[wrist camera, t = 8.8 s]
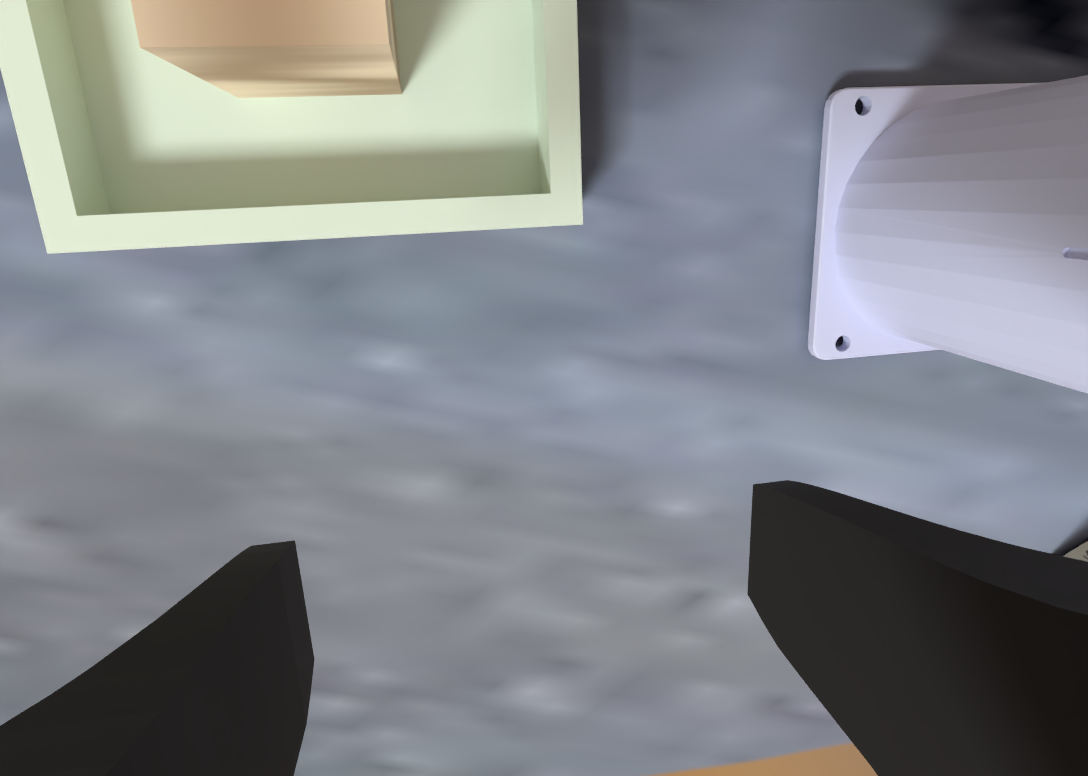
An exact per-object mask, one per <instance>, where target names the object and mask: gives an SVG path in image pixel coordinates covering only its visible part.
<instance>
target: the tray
mask: <svg viewBox="0 0 1088 776" xmlns="http://www.w3.org/2000/svg"><path fill="white" fill-rule="evenodd" d="M393 7H394V18H395V28H396V38H397V49H398V59H399V69H400V80H401V90H402V94H392V95H349V96H306V97H263V98H237V97H235V96H233V95H232V94H230V93H228V92H226V91H224V90H222V89H220V88H218V87H216V86H214V85H212V84H210V83H208V82H206V81H204V80H202V79H200V78H198V77H196V76H195V75H193V74H191V73H189V72H187V71H185V70H183V69H181V68H179V67H177V66H175V65H173V64H171V63H169V62H167V61H165V60H163V59H161V58H159V57H158V56H156V55H154V54H152V53H150V52H148V51H146V50H144V49H142V48H140V45H139V40H138V35H137V30H136V25H135V20H134V15H133V10H132V5H131V0H0V68H1V72H2V76H3V80H4V84H5V88H6V92H7V96H8V100H9V104H10V108H11V112H12V116H13V120H14V124H15V127H16V131H17V135H18V139H19V143H20V147H21V151H22V155H23V159H24V163H25V167H26V171H27V175H28V179H29V183H30V187H31V191H32V195H33V199H34V202H35V206H36V210H37V214H38V218H39V222H40V226H41V230H42V234H43V238H44V242H45V246H46V250H47V254H50V253H68V252H87V251H105V250H123V249H142V248H160V247H178V246H197V245H215V244H233V243H251V242H270V241H288V240H306V239H325V238H343V237H361V236H380V235H398V234H416V233H434V232H453V231H471V230H489V229H508V228H526V227H544V226H563V225H581V224H583V211H582V174H581V137H580V100H579V63H578V26H577V0H393Z"/></svg>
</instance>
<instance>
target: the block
mask: <svg viewBox="0 0 1088 776" xmlns="http://www.w3.org/2000/svg"><path fill="white" fill-rule="evenodd" d="M131 5H132V10H133V15H134V20H135V25H136V30H137V35H138V40H139V45H140V48H142V49H144V50H146V51H148V52H150V53H152V54H154V55H156V56H158V57H159V58H161V59H163V60H165V61H167V62H169V63H171V64H173V65H175V66H177V67H179V68H181V69H183V70H185V71H187V72H189V73H191V74H193V75H195V76H196V77H198V78H200V79H202V80H204V81H206V82H208V83H210V84H212V85H214V86H216V87H218V88H220V89H222V90H224V91H226V92H228V93H230V94H232V95H233V96H235V97H237V98H263V97H306V96H349V95H392V94H402V90H401V80H400V69H399V59H398V49H397V38H396V28H395V18H394V7H393V0H131Z"/></svg>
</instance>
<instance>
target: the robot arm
mask: <svg viewBox="0 0 1088 776" xmlns="http://www.w3.org/2000/svg"><path fill="white" fill-rule="evenodd" d="M858 99H860V100H861V101H862V102H863V110H862V113H861V114H860V115H858V114H857V112H856V111H855V104H856V101H857V100H858ZM840 336H843V343H842V345H841V346H840V347H839V348H837V349H836V346H835V343H836V340H837V339H838V338H839V337H840ZM808 349H809V351H810V353H811V354H812V355H813V356H815V357H817V358H819V359H824V360H830V359H841V358H852V357H863V356H874V355H885V354H896V353H907V352H918V351H930V350H945V351H948V352H951V353H955V354H958V355H961V356H964V357H968V358H971V359H974V360H978V361H981V362H984V363H988V364H991V365H994V366H998V367H1001V368H1004V369H1008V370H1011V371H1014V372H1018V373H1021V374H1024V375H1028V376H1031V377H1034V378H1038V379H1041V380H1044V381H1048V382H1051V383H1054V384H1058V385H1061V386H1064V387H1068V388H1071V389H1074V390H1078V391H1081V392H1084V393H1088V75H1086V76H1080V77H1075V78H1069V79H1064V80H1058V81H1053V82H1047V83H1012V84H972V85H933V86H893V87H854V88H844V89H841V90H837V91H835V92H833V93H832V94H831V95H830V96H829V97H828V99H827V100H826V104H825V108H824V120H823V135H822V149H821V163H820V177H819V192H818V206H817V220H816V234H815V248H814V263H813V277H812V291H811V305H810V320H809V334H808ZM748 596H749V597H750V599H751V601H752V603H753V605H754V607H755V608H756V610H757V612H758V614H759V616H760V617H761V619H762V621H763V623H764V625H765V626H766V628H767V629H768V631H769V633H770V634H771V636H772V638H773V639H774V641H775V643H776V644H777V646H778V647H779V649H780V650H781V651H782V653H783V654H784V655H785V657H786V658H787V659H788V661H789V662H790V663H791V665H792V666H793V667H794V668H795V670H796V671H797V672H798V674H799V675H800V676H801V678H802V679H803V680H804V681H805V683H806V684H807V685H808V687H809V688H810V689H811V690H812V692H813V693H814V694H815V695H816V697H817V698H818V699H819V701H820V702H821V703H822V704H823V706H824V707H825V708H826V709H827V711H828V712H829V713H830V714H831V716H832V717H833V718H834V720H835V721H836V722H837V723H838V725H839V726H840V727H841V728H842V730H843V731H844V732H845V733H846V735H847V736H848V737H849V739H850V740H851V741H852V742H853V744H854V745H855V746H856V747H857V749H858V750H859V751H860V752H861V754H862V755H863V756H864V758H865V759H866V760H867V761H868V763H869V764H870V765H871V767H872V768H873V769H874V771H875V772H876V773H877V775H878V776H1088V562H1087V561H1082V560H1078V559H1073V558H1068V557H1064V556H1059V555H1055V554H1050V553H1046V552H1041V551H1036V550H1032V549H1027V548H1023V547H1019V546H1015V545H1011V544H1007V543H1003V542H999V541H996V540H992V539H988V538H985V537H981V536H978V535H974V534H970V533H967V532H963V531H960V530H956V529H953V528H949V527H946V526H942V525H939V524H936V523H932V522H929V521H926V520H923V519H919V518H916V517H913V516H910V515H907V514H903V513H900V512H897V511H894V510H891V509H888V508H885V507H882V506H878V505H875V504H872V503H869V502H866V501H863V500H860V499H857V498H853V497H850V496H847V495H844V494H841V493H837V492H834V491H831V490H827V489H824V488H820V487H817V486H813V485H809V484H805V483H800V482H795V481H788V480H787V481H778V482H770V483H762V484H754V485H753V497H752V517H751V537H750V557H749V576H748ZM313 666H314V655H313V649H312V642H311V636H310V630H309V624H308V618H307V612H306V606H305V600H304V594H303V588H302V581H301V575H300V569H299V563H298V557H297V551H296V545H295V541H287V542H279V543H271V544H263V545H255V546H250V547H249V548H247V549H246V550H244V551H243V552H241V553H240V554H238V555H237V556H236V557H234V558H233V559H232V560H230V561H229V562H228V563H227V564H225V565H224V566H223V567H222V568H220V569H219V570H218V571H217V572H215V573H214V574H213V575H212V576H210V577H209V578H208V579H207V580H206V581H204V582H203V583H202V584H201V585H199V586H198V587H197V588H196V589H194V590H193V591H192V592H191V593H189V594H188V595H187V596H186V597H184V598H183V599H182V600H181V601H179V602H178V603H177V604H176V605H174V606H173V607H172V608H171V609H169V610H168V611H167V612H166V613H164V614H163V615H162V616H160V617H159V618H158V619H157V620H155V621H154V622H153V623H151V624H150V625H149V626H147V627H146V628H144V629H143V630H142V631H140V632H139V633H138V634H136V635H135V636H134V637H132V638H131V639H129V640H128V641H127V642H125V643H124V644H123V645H121V646H120V647H119V648H117V649H116V650H114V651H113V652H112V653H110V654H109V655H108V656H106V657H105V658H104V659H102V660H101V661H99V662H98V663H97V664H95V665H94V666H93V667H91V668H90V669H88V670H87V671H85V672H84V673H82V674H81V675H79V676H78V677H77V678H75V679H74V680H72V681H71V682H69V683H68V684H66V685H65V686H63V687H61V688H60V689H58V690H57V691H55V692H54V693H52V694H51V695H49V696H48V697H46V698H44V699H43V700H41V701H40V702H38V703H36V704H35V705H33V706H32V707H30V708H28V709H27V710H25V711H23V712H22V713H20V714H19V715H17V716H15V717H14V718H12V719H11V720H9V721H7V722H6V723H4V724H2V725H1V726H0V776H293V775H294V772H295V768H296V764H297V760H298V756H299V752H300V748H301V744H302V740H303V736H304V732H305V727H306V723H307V716H308V708H309V701H310V693H311V684H312V675H313Z"/></svg>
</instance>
